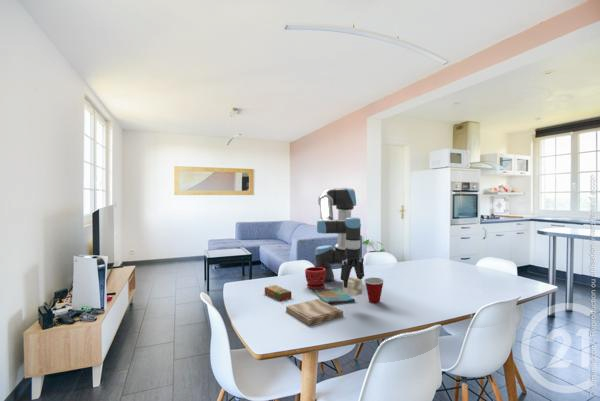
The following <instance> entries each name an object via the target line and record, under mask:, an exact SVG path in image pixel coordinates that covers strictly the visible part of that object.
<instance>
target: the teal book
mask: <svg viewBox="0 0 600 401" xmlns="http://www.w3.org/2000/svg"><path fill="white" fill-rule="evenodd" d="M313 293H314V294H315V295H316V296H317V297H318V299H319V300H321V301H323V302H326V303H328V304H330V305H332V306H333V305H342V304H355V303H356V299H355V298H353V297H352V296H350V295H347V294H345V293H343V289H340V288H339V287H335V288H322V289H313Z"/></svg>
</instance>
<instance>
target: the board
mask: <svg viewBox="0 0 600 401" xmlns="http://www.w3.org/2000/svg"><path fill="white" fill-rule="evenodd" d="M285 307H286V308H285V312H287V313H289V314H290V315H291V316H293V317H294V318H296V319H297V320H299V321H301V322H302V323H304V324H305V325H307V326H309V327H310V326H313V324H314V325H317V324H321V323H324V322H327V320H328V321H331V320H334V319H338V318H341V317H344V310H343V309H340V308H337V307H336V306H334V305H333V304H332V305H330V304H328V303H326V302H323V301H322V300H321V299H320V298H315V299H312V300H307V301H304V302H299V303H295V304H291V305H287V306H285ZM320 322H321V323H320ZM316 323H317V324H316Z"/></svg>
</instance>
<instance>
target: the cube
mask: <svg viewBox="0 0 600 401" xmlns="http://www.w3.org/2000/svg"><path fill="white" fill-rule="evenodd" d="M348 281H349V296H350V297H354V296H359V295H362V294H363V279H361V280H360V279H357V277H354V276H349V279H348ZM342 291H343V293H344V291H345V287H344V281H343V280H342ZM347 295H348V294H347Z"/></svg>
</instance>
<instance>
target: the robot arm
mask: <svg viewBox="0 0 600 401" xmlns="http://www.w3.org/2000/svg"><path fill="white" fill-rule="evenodd" d="M317 201H318V202H317V203H318V206H319V215H320V216H319V219H318V220H316V232H317V233H318V234H323V235H324V234H335V235H336V234H337V243H336V244H335V246H334V247H333V246H332V245H328V244H326V245H320V246H317V247H316V248H315V253H314V255H315V260H314V267H322V268H325V269H326V277H325V281H324V283H331V282H333V281H335V274H334V271H333V265H334V266H335V265H337V266H340V265H341V271H340V281H342V282H343V281H344V287H345V291H344V293H345V294H348V295H349V281H348V279H349V278H350V277H351V271H352V269H353V268H354V272H355V275H356V278H357V279H360V280H363V279H364V277H365V267H364V261H365V259H364V258H363V257H360V256H361V228H362V227H361V226H362V224H361V223H362V222H361V218H359V217H352V211H353V210H354V207H355V206H357V198H356V191H355V189H353V188H350V187H340V188H339V187H338V188H337V187H333V188H332V187H330V188H327V189H325V190H323V191H322V192H321V193H320V194H319V196H318V200H317ZM333 206H335V208H336V210H337V211H338V212H337V219H334V212H333V210H334V209H333ZM349 296H350V295H349Z"/></svg>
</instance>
